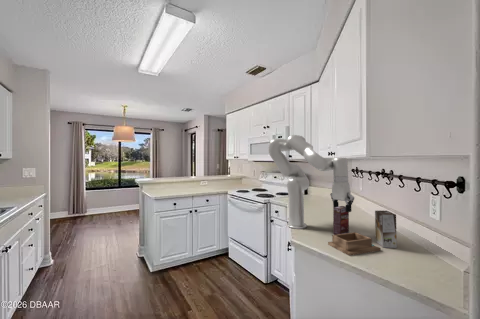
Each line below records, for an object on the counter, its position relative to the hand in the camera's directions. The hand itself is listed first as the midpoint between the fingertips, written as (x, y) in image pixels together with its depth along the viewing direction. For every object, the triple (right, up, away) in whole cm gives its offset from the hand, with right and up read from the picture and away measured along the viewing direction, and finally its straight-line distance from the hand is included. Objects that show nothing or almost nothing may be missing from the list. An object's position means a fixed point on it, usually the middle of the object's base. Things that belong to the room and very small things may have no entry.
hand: (342, 210), depth 126 cm
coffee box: (+15, -14, -14) cm, 25 cm away
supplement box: (0, -14, 0) cm, 14 cm away
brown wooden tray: (-2, -14, -17) cm, 22 cm away
